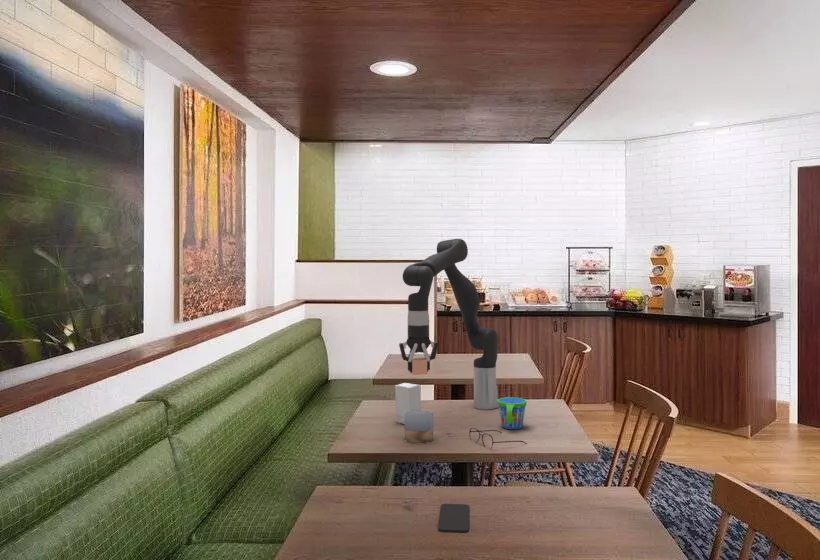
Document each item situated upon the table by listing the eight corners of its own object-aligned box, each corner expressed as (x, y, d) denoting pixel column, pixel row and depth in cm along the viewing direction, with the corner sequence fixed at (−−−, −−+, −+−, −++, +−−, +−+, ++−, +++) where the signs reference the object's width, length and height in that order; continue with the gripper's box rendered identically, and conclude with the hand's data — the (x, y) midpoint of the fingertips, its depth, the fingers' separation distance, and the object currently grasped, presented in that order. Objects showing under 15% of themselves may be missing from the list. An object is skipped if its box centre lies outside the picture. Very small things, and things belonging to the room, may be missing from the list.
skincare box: (421, 423, 230) (421, 384, 229) (410, 426, 226) (409, 387, 225) (406, 419, 236) (406, 381, 235) (395, 422, 232) (394, 384, 231)
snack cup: (503, 420, 233) (503, 394, 232) (530, 423, 229) (530, 396, 228) (492, 431, 218) (492, 403, 218) (521, 434, 214) (521, 406, 214)
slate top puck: (430, 422, 216) (429, 409, 216) (436, 430, 206) (435, 417, 206) (402, 423, 215) (402, 411, 214) (407, 432, 205) (407, 419, 204)
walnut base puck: (430, 434, 216) (430, 422, 216) (435, 443, 207) (435, 430, 206) (402, 436, 215) (402, 423, 215) (407, 445, 205) (406, 432, 205)
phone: (469, 504, 155) (469, 530, 140) (469, 507, 155) (469, 534, 140) (440, 503, 156) (437, 529, 141) (440, 506, 156) (437, 532, 141)
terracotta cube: (424, 371, 213) (424, 357, 213) (427, 374, 208) (427, 359, 208) (410, 372, 212) (410, 357, 212) (412, 374, 207) (412, 360, 207)
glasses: (468, 440, 210) (469, 426, 210) (502, 439, 217) (504, 425, 217) (491, 452, 197) (493, 436, 197) (527, 450, 204) (529, 435, 204)
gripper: (436, 321, 214) (436, 369, 215) (396, 322, 212) (397, 370, 213) (440, 324, 207) (441, 373, 208) (399, 325, 205) (399, 374, 205)
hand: (418, 371), depth 210 cm, fingers closed on terracotta cube, 5 cm apart
